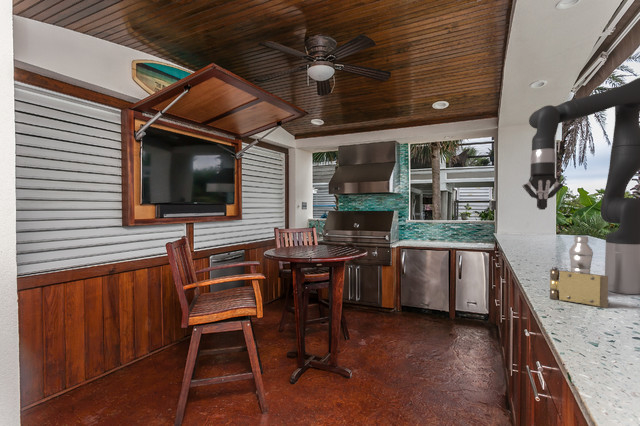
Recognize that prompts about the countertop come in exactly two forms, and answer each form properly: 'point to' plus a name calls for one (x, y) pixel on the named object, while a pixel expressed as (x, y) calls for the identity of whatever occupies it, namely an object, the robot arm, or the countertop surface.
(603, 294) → the hinge mount
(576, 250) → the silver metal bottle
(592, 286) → the plate
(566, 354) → the countertop surface
